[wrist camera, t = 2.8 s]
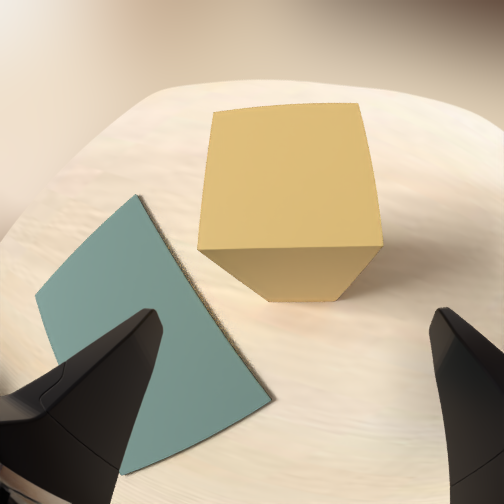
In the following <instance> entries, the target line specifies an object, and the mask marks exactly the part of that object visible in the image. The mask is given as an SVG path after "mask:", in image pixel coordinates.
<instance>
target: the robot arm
mask: <svg viewBox="0 0 504 504" xmlns="http://www.w3.org/2000/svg"><path fill="white" fill-rule="evenodd" d="M162 336H163V325H162V323H161V321H160V318H159V316H158V313H157V311H156V310H155V309H151V308H143V309H142V310H140V311H139V312H137V313H136V314H134V315H133V316H131V317H130V318H128V319H127V320H125V321H124V322H122V323H121V324H119V325H118V326H116V327H115V328H113V329H112V330H110V331H109V332H107V333H106V334H104V335H103V336H101V337H100V338H98V339H97V340H95V341H94V342H92V343H91V344H89V345H88V346H86V347H85V348H83V349H82V350H81V351H79V352H78V353H76V354H75V355H73V356H72V357H70V358H69V359H67V360H66V361H64V362H63V363H61V364H60V365H58V366H57V367H55V368H54V369H52V370H51V371H49V372H48V373H46V374H45V375H43V376H41V377H40V378H38V379H36V380H34V381H33V382H31V383H29V384H27V385H26V386H24V387H22V388H20V389H19V390H17V391H15V392H13V393H11V394H9V395H5V396H0V504H110V502H111V499H112V495H113V492H114V488H115V485H116V481H117V478H118V475H119V470H120V468H121V464H122V461H123V458H124V455H125V452H126V448H127V445H128V442H129V439H130V436H131V433H132V430H133V427H134V424H135V421H136V418H137V415H138V412H139V410H140V407H141V404H142V401H143V398H144V395H145V393H146V390H147V387H148V384H149V381H150V379H151V376H152V373H153V370H154V367H155V363H156V359H157V355H158V351H159V347H160V343H161V339H162ZM429 336H430V342H431V349H432V356H433V364H434V371H435V378H436V383H437V387H438V392H439V397H440V403H441V408H442V414H443V420H444V427H445V434H446V442H447V451H448V462H449V477H450V504H504V353H503V352H501V351H500V350H499V349H498V348H497V347H496V346H495V345H494V344H492V343H491V342H490V341H489V340H488V339H487V338H485V337H484V336H483V335H482V334H481V333H480V332H478V331H477V330H476V329H475V328H474V327H472V326H471V325H470V324H469V323H467V322H466V321H465V320H464V319H463V318H461V317H460V316H459V315H458V314H456V313H455V312H454V311H453V310H451V309H450V308H448V307H444V308H438V309H437V310H436V311H435V314H434V317H433V319H432V322H431V325H430V328H429Z"/></svg>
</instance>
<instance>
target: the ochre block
mask: <svg viewBox="0 0 504 504" xmlns="http://www.w3.org/2000/svg"><path fill="white" fill-rule="evenodd" d="M382 247H383V236H382V227H381V219H380V211H379V204H378V197H377V190H376V184H375V178H374V172H373V167H372V162H371V156H370V152H369V147H368V142H367V137H366V133H365V129H364V124H363V120H362V116H361V112H360V109H359V105H358V103H309V104H288V105H273V106H262V107H252V108H243V109H235V110H227V111H220V112H214V113H213V119H212V126H211V133H210V140H209V147H208V154H207V162H206V170H205V178H204V186H203V195H202V204H201V214H200V224H199V234H198V245H197V250H198V251H200V252H201V253H202V254H204V255H205V256H206V257H208V258H209V259H210V260H212V261H213V262H214V263H216V264H217V265H218V266H220V267H221V268H223V269H224V270H225V271H227V272H228V273H229V274H231V275H232V276H233V277H235V278H236V279H238V280H239V281H240V282H242V283H243V284H245V285H246V286H247V287H249V288H250V289H251V290H253V291H254V292H256V293H257V294H258V295H260V296H261V297H263V298H264V299H265V300H267V301H268V302H326V301H336V300H337V299H338V298H339V297H340V296H341V294H342V293H343V292H344V291H345V290H346V289H347V288H348V287H349V286H350V284H351V283H352V282H353V281H354V280H355V279H356V278H357V277H358V275H359V274H360V273H361V272H362V271H363V270H364V268H365V267H366V266H367V265H368V264H369V263H370V261H371V260H372V259H373V258H374V257H375V255H376V254H377V253H378V252H379V251H380V249H381V248H382Z"/></svg>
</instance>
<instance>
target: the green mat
mask: <svg viewBox="0 0 504 504" xmlns="http://www.w3.org/2000/svg"><path fill="white" fill-rule="evenodd" d="M35 297H36V301H37V305H38V308H39V311H40V314H41V318H42V321H43V324H44V327H45V330H46V333H47V336H48V338H49V341H50V344H51V346H52V349H53V352H54V354H55V357H56V359H57V362H58V364H59V365H60V364H61V363H63V362H64V361H66V360H67V359H69V358H70V357H72V356H73V355H75V354H76V353H78V352H79V351H81V350H82V349H83V348H85V347H86V346H88V345H89V344H91V343H92V342H94V341H95V340H97V339H98V338H100V337H101V336H103V335H104V334H106V333H107V332H109V331H110V330H112V329H113V328H115V327H116V326H118V325H119V324H121V323H122V322H124V321H125V320H127V319H128V318H130V317H131V316H133V315H134V314H136V313H137V312H139V311H140V310H142V309H143V308H151V309H155V310H156V311H157V313H158V316H159V318H160V321H161V323H162V325H163V336H162V339H161V343H160V347H159V351H158V355H157V359H156V363H155V367H154V370H153V373H152V376H151V379H150V381H149V384H148V387H147V390H146V393H145V395H144V398H143V401H142V404H141V407H140V410H139V412H138V415H137V418H136V421H135V424H134V427H133V430H132V433H131V436H130V439H129V442H128V445H127V448H126V452H125V455H124V458H123V461H122V464H121V468H120V470H119V473H120V475H121V476H122V475H125V474H127V473H130V472H133V471H135V470H138V469H140V468H143V467H145V466H148V465H150V464H153V463H155V462H157V461H160V460H162V459H164V458H166V457H169V456H171V455H173V454H175V453H177V452H180V451H182V450H184V449H186V448H188V447H190V446H192V445H194V444H196V443H198V442H200V441H202V440H204V439H206V438H208V437H210V436H212V435H213V434H215V433H217V432H219V431H221V430H223V429H225V428H226V427H228V426H230V425H232V424H233V423H235V422H237V421H239V420H240V419H242V418H244V417H245V416H247V415H249V414H250V413H252V412H254V411H255V410H257V409H259V408H260V407H262V406H263V405H265V404H267V403H268V402H270V401H271V400H272V399H271V398H270V397H269V395H268V394H267V393H266V391H265V390H264V389H263V388H262V386H261V385H260V384H259V382H258V381H257V380H256V378H255V377H254V376H253V374H252V373H251V372H250V370H249V369H248V367H247V366H246V365H245V363H244V362H243V361H242V359H241V358H240V356H239V355H238V354H237V352H236V351H235V349H234V348H233V347H232V345H231V344H230V342H229V341H228V340H227V338H226V337H225V335H224V334H223V332H222V331H221V329H220V328H219V327H218V325H217V324H216V322H215V321H214V319H213V318H212V316H211V315H210V313H209V312H208V310H207V309H206V307H205V306H204V304H203V303H202V301H201V300H200V298H199V297H198V295H197V294H196V292H195V291H194V289H193V287H192V286H191V284H190V283H189V281H188V280H187V278H186V277H185V275H184V273H183V272H182V270H181V269H180V267H179V265H178V264H177V262H176V261H175V259H174V257H173V256H172V254H171V252H170V251H169V249H168V247H167V246H166V244H165V242H164V241H163V239H162V237H161V236H160V234H159V232H158V231H157V229H156V227H155V225H154V224H153V222H152V220H151V219H150V217H149V215H148V213H147V212H146V210H145V208H144V206H143V205H142V203H141V201H140V199H139V197H138V196H137V195H136V194H135V195H134V196H133V197H132V198H130V199H129V200H128V201H127V202H126V203H125V204H124V205H123V206H121V207H120V208H119V209H118V210H117V211H116V212H115V213H114V214H113V215H112V216H110V217H109V218H108V219H107V220H106V221H105V222H104V223H103V224H102V225H101V226H100V227H99V228H98V229H97V230H96V231H95V232H94V233H93V234H91V235H90V236H89V237H88V238H87V239H86V240H85V241H84V242H83V243H82V244H81V245H80V246H79V247H78V248H77V250H76V251H75V252H74V253H73V254H72V255H71V256H70V257H69V258H68V259H67V260H66V261H65V262H64V263H63V264H62V265H61V266H60V267H59V269H58V270H57V271H56V272H55V273H54V274H53V275H52V276H51V277H50V279H49V280H48V281H47V282H46V283H45V284H44V285H43V287H42V288H41V289H40V290H39V291H38V292H37V294H36V295H35Z"/></svg>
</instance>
